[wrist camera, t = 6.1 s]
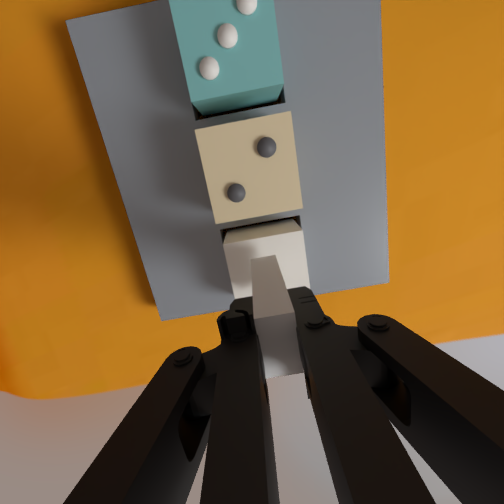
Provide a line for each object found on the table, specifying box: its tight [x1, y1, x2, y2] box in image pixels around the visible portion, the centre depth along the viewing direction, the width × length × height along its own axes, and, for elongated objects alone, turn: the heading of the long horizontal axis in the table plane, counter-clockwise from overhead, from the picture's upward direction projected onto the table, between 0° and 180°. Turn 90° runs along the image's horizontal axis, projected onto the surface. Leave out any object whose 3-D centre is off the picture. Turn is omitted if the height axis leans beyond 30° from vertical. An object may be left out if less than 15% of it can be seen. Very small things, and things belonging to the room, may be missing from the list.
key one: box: [223, 219, 310, 299], centre depth 19 cm, size 5×5×4 cm
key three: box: [169, 0, 284, 116], centre depth 15 cm, size 5×5×4 cm
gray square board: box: [65, 0, 389, 321], centre depth 19 cm, size 18×20×2 cm
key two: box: [195, 111, 303, 224], centre depth 16 cm, size 5×5×4 cm
